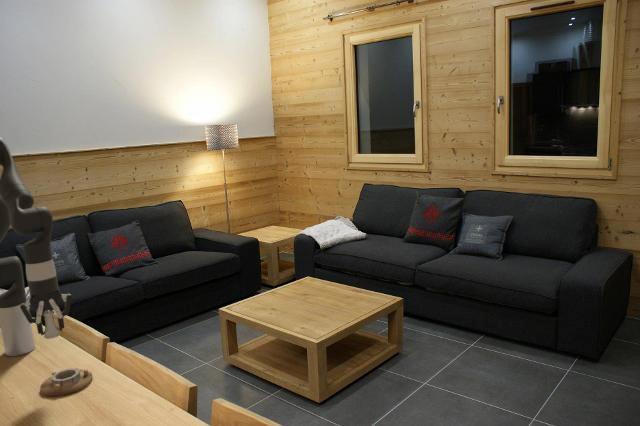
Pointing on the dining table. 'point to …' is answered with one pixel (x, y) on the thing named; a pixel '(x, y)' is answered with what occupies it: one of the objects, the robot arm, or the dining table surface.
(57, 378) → the carrier disc
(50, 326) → the rook chess piece
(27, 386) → the dining table surface
